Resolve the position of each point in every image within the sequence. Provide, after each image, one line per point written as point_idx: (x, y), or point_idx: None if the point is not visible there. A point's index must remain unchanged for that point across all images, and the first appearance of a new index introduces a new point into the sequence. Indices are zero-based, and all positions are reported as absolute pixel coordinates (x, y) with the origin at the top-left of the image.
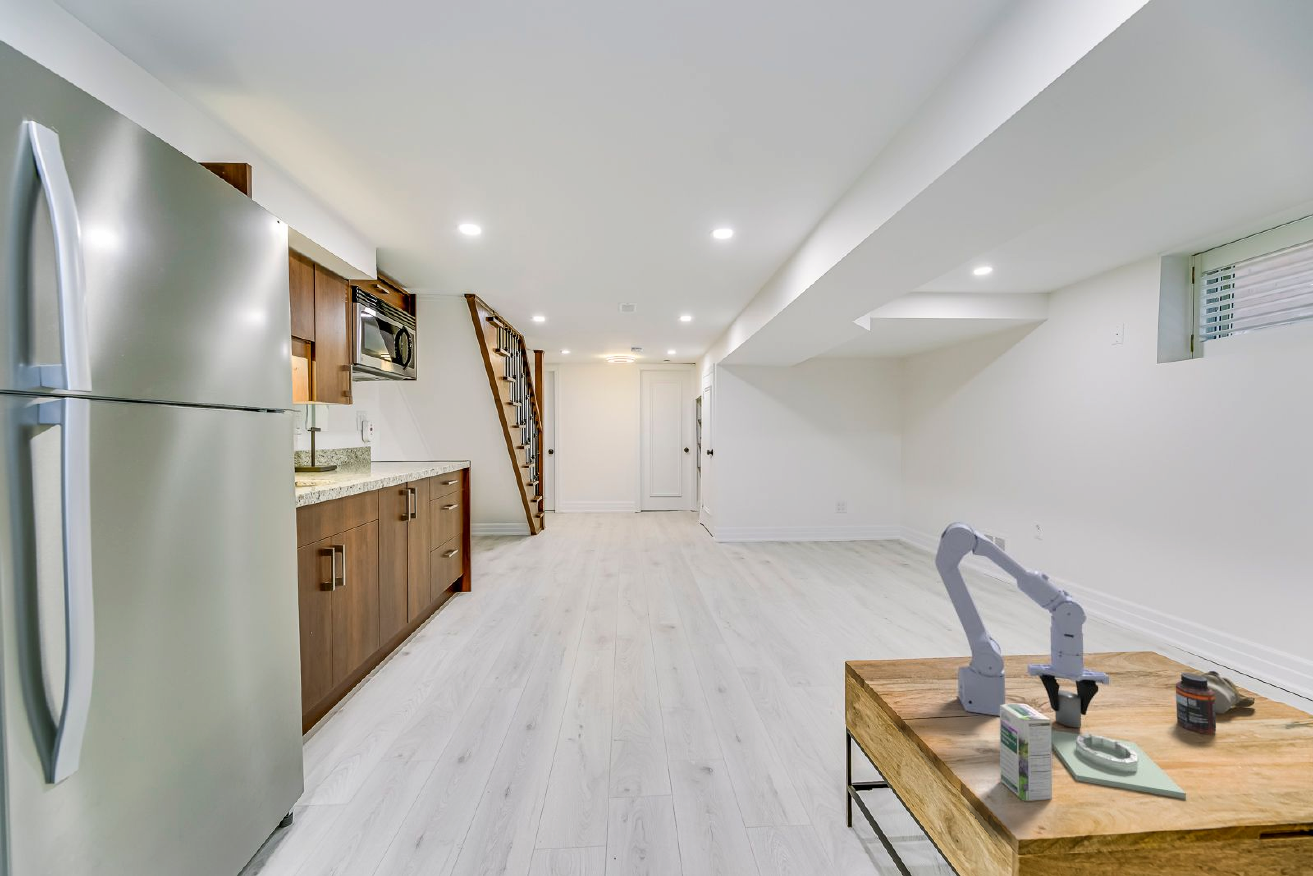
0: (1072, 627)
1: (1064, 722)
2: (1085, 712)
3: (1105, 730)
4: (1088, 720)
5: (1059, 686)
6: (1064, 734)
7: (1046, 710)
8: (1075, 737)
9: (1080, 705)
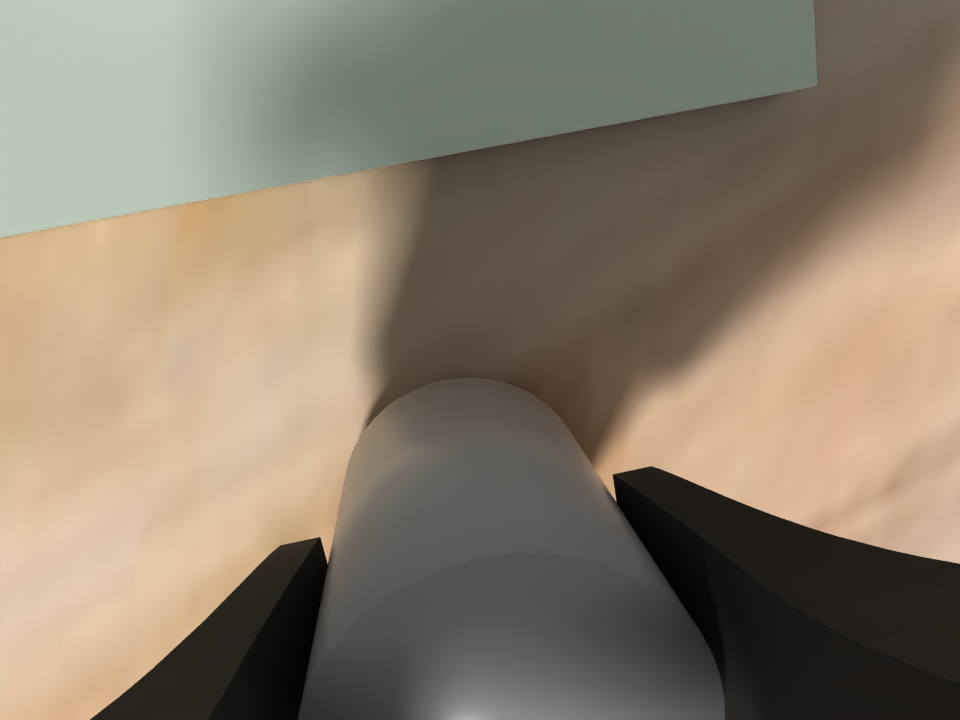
0: None
1: (526, 398)
2: (271, 555)
3: (114, 539)
4: None
5: (931, 675)
6: (592, 60)
7: None
8: (477, 40)
9: (324, 601)
